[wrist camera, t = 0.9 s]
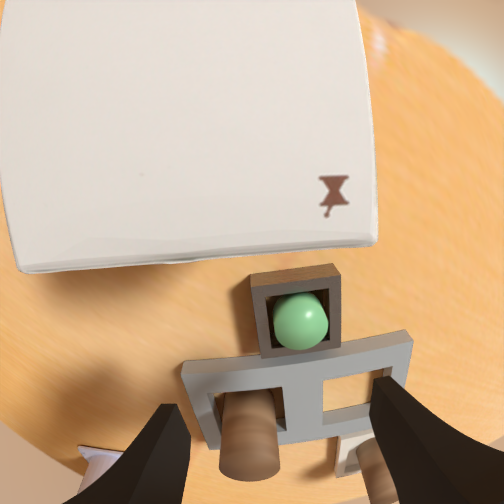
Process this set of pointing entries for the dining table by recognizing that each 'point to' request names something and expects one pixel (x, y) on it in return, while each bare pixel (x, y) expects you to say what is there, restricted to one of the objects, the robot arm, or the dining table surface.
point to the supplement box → (183, 131)
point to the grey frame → (297, 385)
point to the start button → (299, 320)
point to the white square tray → (349, 452)
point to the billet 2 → (376, 473)
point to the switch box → (294, 283)
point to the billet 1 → (249, 436)
